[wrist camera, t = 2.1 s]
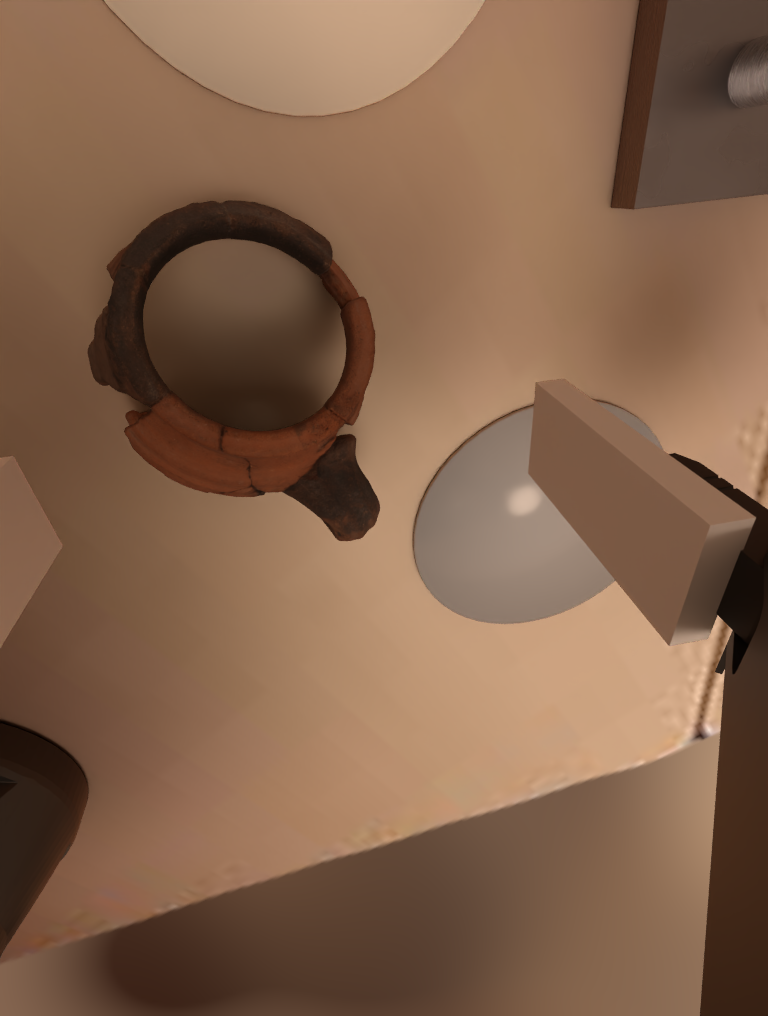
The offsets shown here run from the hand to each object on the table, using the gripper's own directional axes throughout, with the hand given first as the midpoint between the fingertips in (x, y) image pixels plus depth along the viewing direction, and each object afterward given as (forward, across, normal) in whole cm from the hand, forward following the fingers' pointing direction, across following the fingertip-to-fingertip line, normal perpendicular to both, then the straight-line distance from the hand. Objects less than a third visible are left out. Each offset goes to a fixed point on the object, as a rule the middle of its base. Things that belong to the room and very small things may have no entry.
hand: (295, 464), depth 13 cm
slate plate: (+9, -11, +10) cm, 18 cm away
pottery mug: (+9, +1, 0) cm, 9 cm away
